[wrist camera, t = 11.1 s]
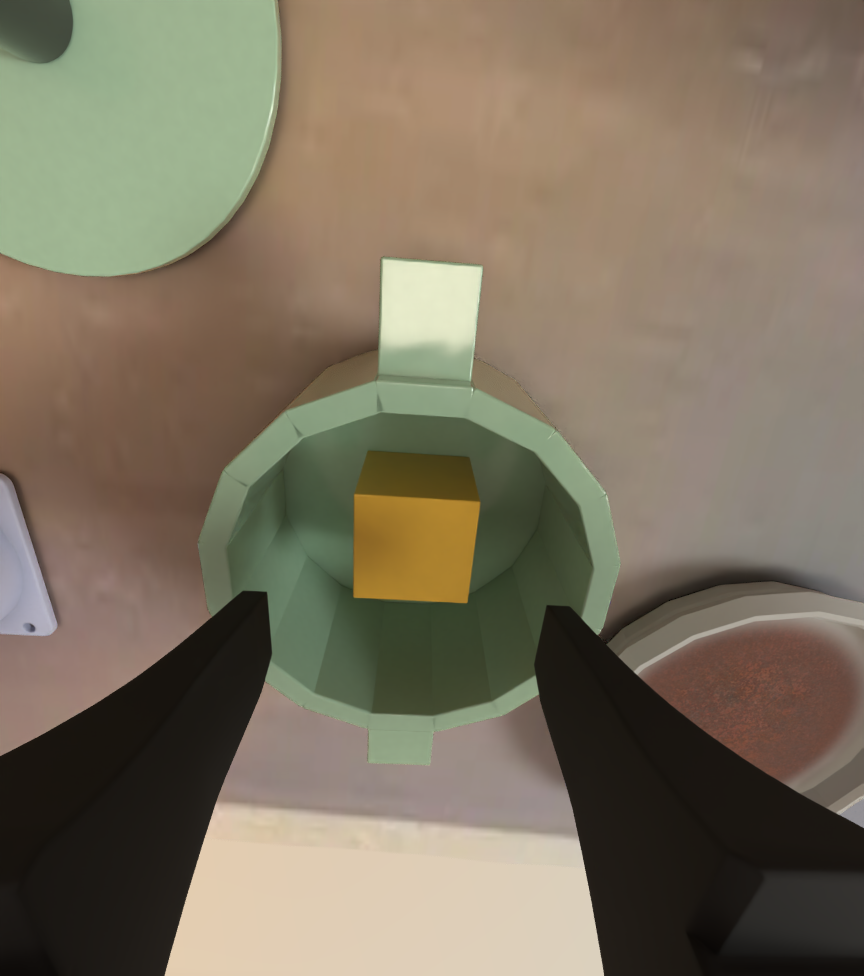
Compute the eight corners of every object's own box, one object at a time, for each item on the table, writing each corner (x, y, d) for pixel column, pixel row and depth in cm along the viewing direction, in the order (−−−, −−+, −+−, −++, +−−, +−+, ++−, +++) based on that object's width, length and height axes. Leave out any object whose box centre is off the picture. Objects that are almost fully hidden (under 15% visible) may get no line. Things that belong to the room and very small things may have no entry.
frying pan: (1021, 859, 27) (541, 856, 25) (968, 807, 30) (529, 801, 28) (1259, 624, 20) (619, 596, 18) (1161, 583, 23) (593, 555, 21)
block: (365, 538, 20) (352, 598, 17) (367, 450, 19) (353, 493, 15) (459, 544, 20) (467, 604, 17) (470, 456, 19) (480, 501, 15)
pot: (280, 649, 23) (232, 777, 17) (250, 248, 16) (150, 236, 10) (525, 660, 24) (558, 788, 18) (603, 277, 16) (701, 281, 11)
